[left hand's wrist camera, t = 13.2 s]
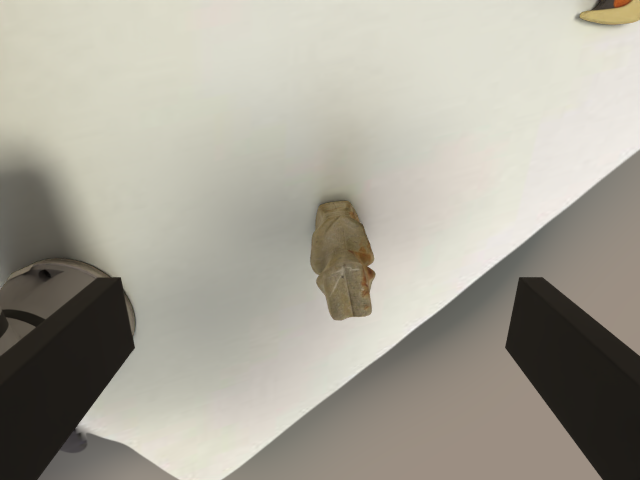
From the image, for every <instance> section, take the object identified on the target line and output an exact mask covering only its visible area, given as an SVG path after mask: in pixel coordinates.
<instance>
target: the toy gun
mask: <svg viewBox="0 0 640 480" xmlns="http://www.w3.org/2000/svg"><path fill="white" fill-rule="evenodd" d="M580 18H581V19H583V20H587V21H591V22H596V23H601V24H625V23H633V22H636V21H638V20H640V0H601V1H600V3H599V4H598V6H597V7H596V8H594V9H593V10H591V11H585V12H582V13H581V14H580Z"/></svg>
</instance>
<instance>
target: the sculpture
mask: <svg viewBox="0 0 640 480" xmlns="http://www.w3.org/2000/svg"><path fill="white" fill-rule="evenodd" d="M373 261H374V255H373V253H372V250H371V246H370V243H369V241H368V238H367V236H366V233H365V230H364V226H363V225H362V224H361V223H360V221H359V219H358V216H357V214H356V212H355V209H354V208H353V206H352V205H351V203H350V202H349V201H336V202H329V203H325V204H322V205H320V206H319V208H318V211H317V215H316V224H315V232H314V233H313V236H312V249H311V257H310V262H311V266H312V269H313V270H314V272H315V273H316V274H318V275H319V277H318V278H317V280H316V283H317V285H318V287H319V288H320V290H321V291H322V292H323V293H324V295H325V296H326V300H327V304H328V309H329V312H330V315H331V316H332V318H333V319H334V320H344V319H346V318H349V317H365V316H368V315H370V314H371V311H372V306H371V299H370V288H371V284H372V281H373V279H374V278H375V272H374V271H373V270H372V269H370V268H369V267H367V266H368V265H370V264H371V263H373Z"/></svg>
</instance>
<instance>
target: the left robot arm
mask: <svg viewBox="0 0 640 480" xmlns="http://www.w3.org/2000/svg"><path fill="white" fill-rule="evenodd" d="M7 280H8V281H7ZM7 280H6V281H7V282H6V283H5V284H4V285H3V287H2V288H1V290H0V480H37V479H38V478H39V477H40V475H41V474H42V473H43V471H44V470H45V468H46V467H47V466H48V464H49V463H50V462H51V460H52V459H53V458H54V456H55V455H56V454H57V452H58V451H59V450H60V448H61V447H62V445H63V444H64V443H65V441H66V440H67V439H68V437H69V436H70V435H71V433H72V432H73V431H74V429H75V428H76V427H77V425H78V424H79V422H80V421H81V420H82V418H83V417H84V416H85V414H86V413H87V412H88V410H89V409H90V408H91V406H92V405H93V404H94V402H95V401H96V399H97V398H98V397H99V395H100V394H101V393H102V391H103V390H104V389H105V387H106V386H107V385H108V383H109V382H110V381H111V379H112V378H113V376H114V375H115V374H116V372H117V371H118V370H119V368H120V367H121V366H122V364H123V363H124V362H125V360H126V359H127V358H128V356H129V355H130V353H131V352H132V351H133V349H134V348H135V346H134V341H133V334H134V329H135V318H134V313H133V309H132V306H131V304H130V302H129V300H128V298H127V296H126V295H125V293H124V291H123V286H122V281H121V277H109V276H108V275H106V274H105V273H103V272H102V271H100V270H98V269H97V268H95V267H93V266H91V265H88V264H86V263H83V262H80V261H76V260H71V259H63V258H53V259H45V260H41V261H38V262H35V263H33V264H31V265H29V266H27V267H25V268H23V269H21V270H18V271H16V272H14V273H12V274H11V275H10V276H9V278H8V279H7ZM505 348H506V349H507V351H508V352H509V353H510V355H511V356H512V357H513V359H514V360H515V362H516V363H517V364H518V366H519V367H520V368H521V370H522V371H523V372H524V374H525V375H526V376H527V378H528V379H529V381H530V382H531V383H532V385H533V386H534V387H535V389H536V390H537V391H538V393H539V394H540V395H541V397H542V398H543V399H544V401H545V402H546V404H547V405H548V406H549V408H550V409H551V410H552V412H553V413H554V414H555V416H556V417H557V418H558V420H559V421H560V422H561V424H562V425H563V427H564V428H565V429H566V431H567V432H568V433H569V435H570V436H571V437H572V439H573V440H574V441H575V443H576V444H577V445H578V447H579V448H580V449H581V451H582V452H583V454H584V455H585V456H586V458H587V459H588V460H589V462H590V463H591V464H592V466H593V467H594V468H595V470H596V471H597V473H598V474H599V475H600V476H601V478H602V479H603V480H640V356H639V355H638V354H636V353H635V352H634V351H633V350H631V349H630V348H629V347H628V346H627V345H625V344H624V343H623V342H622V341H620V340H619V339H618V338H617V337H615V336H614V335H613V334H612V333H611V332H609V331H608V330H607V329H606V328H604V327H603V326H602V325H601V324H599V323H598V322H597V321H596V320H594V319H593V318H592V317H591V316H590V315H588V314H587V313H586V312H585V311H583V310H582V309H581V308H580V307H578V306H577V305H576V304H575V303H573V302H572V301H571V300H570V299H569V298H567V297H566V296H565V295H563V294H562V293H561V292H560V291H559V290H557V289H556V288H555V287H554V286H552V285H551V284H550V283H549V282H548V281H546V280H545V279H544V278H542V277H520V278H519V281H518V286H517V291H516V296H515V302H514V306H513V311H512V316H511V322H510V326H509V331H508V337H507V341H506V346H505Z"/></svg>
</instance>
